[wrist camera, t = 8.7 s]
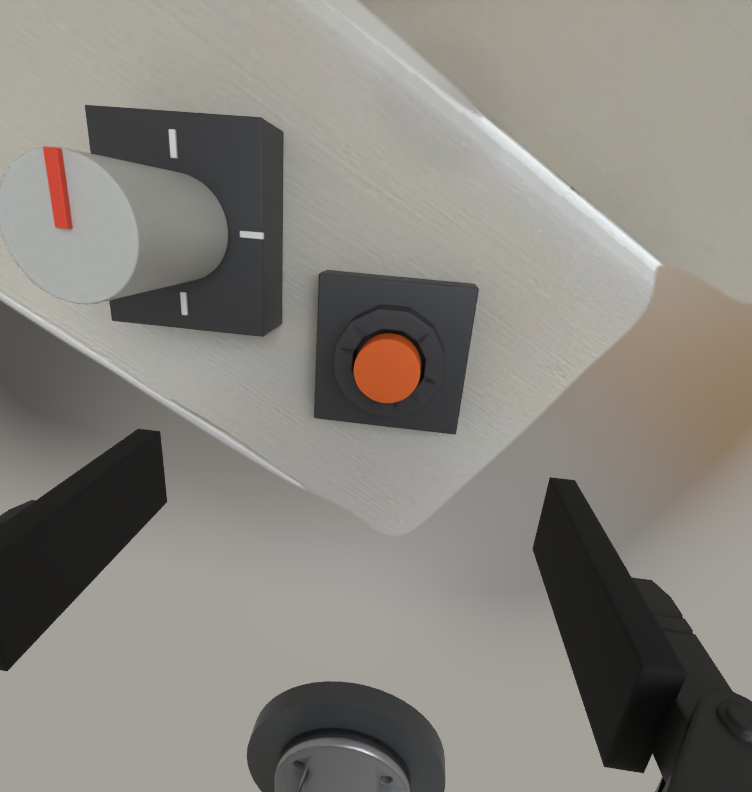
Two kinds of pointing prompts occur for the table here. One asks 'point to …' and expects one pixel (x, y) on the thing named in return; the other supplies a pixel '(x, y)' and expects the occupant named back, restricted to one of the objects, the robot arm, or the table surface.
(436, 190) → the table surface
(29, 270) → the timer dial
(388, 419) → the button base
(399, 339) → the power button
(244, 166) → the dial panel
